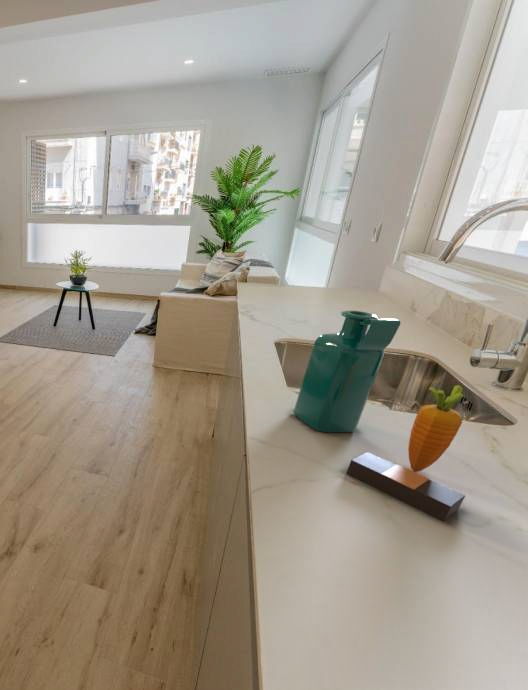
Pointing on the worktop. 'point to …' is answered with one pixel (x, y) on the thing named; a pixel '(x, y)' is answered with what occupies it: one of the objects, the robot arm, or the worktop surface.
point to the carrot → (434, 429)
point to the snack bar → (406, 485)
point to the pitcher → (343, 372)
